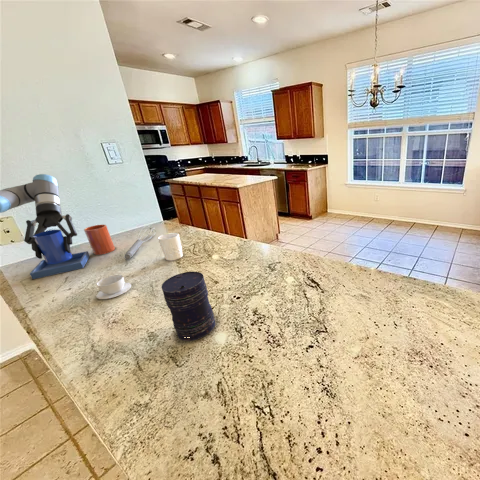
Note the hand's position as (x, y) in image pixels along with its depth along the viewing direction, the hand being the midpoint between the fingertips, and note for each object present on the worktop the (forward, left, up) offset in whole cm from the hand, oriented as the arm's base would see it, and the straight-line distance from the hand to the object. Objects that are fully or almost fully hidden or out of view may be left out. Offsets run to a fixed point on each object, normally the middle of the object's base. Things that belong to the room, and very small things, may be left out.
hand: (53, 254), depth 106 cm
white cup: (+43, +9, -7) cm, 45 cm away
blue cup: (-2, +3, -4) cm, 5 cm away
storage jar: (+74, -36, -7) cm, 83 cm away
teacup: (+36, -17, -7) cm, 41 cm away
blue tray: (-2, +3, -7) cm, 8 cm away
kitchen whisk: (+19, +23, -7) cm, 31 cm away
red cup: (+4, +18, -7) cm, 20 cm away
